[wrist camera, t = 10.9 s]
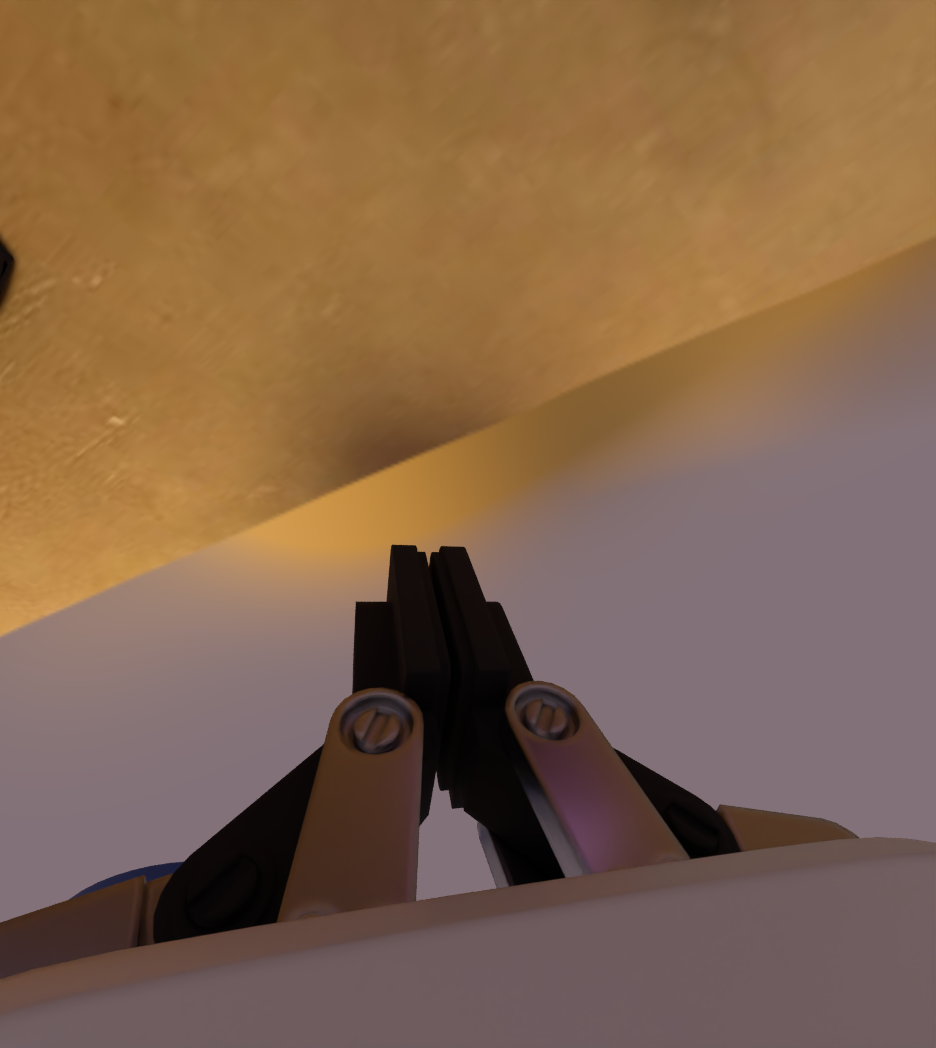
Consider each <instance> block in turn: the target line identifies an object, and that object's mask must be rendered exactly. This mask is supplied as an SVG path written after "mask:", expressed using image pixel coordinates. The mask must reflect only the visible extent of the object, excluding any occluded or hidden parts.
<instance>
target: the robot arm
mask: <svg viewBox="0 0 936 1048" xmlns="http://www.w3.org/2000/svg"><path fill="white" fill-rule="evenodd" d="M436 772H437V778H438V784H439V788H440V790H441V791H444V790H449V794H450V800H451V806H452V809H454V808H464V811H465V812H466V813H468V814H469V815H470V816H472V817H473V818H474V819H475V820H477V821H478V823H477V829H478V834H479V839H480V842H481V844H482V847H483V850H484V853H485V856H486V858H487V861H488V864H489V867H490V870H491V873H492V876H493V878H494V881H495V884H496V887H497V888H496V889H490V890H483V891H477V892H470V893H464V894H457V895H451V896H444V897H438V898H431V899H425V900H419V901H416V889H417V867H418V845H419V826H420V825H421V824H422V822H423V821H424V820H425V819H426V817H427V816H428V815H429V809H430V803H431V797H432V791H433V786H434V780H435V774H436ZM0 1048H936V843H933V842H927V841H920V840H912V839H902V838H882V837H874V838H859V837H858V836H856V835H855V834H854V833H853V832H851V831H849V830H848V829H846V828H844V827H842V826H841V825H839V824H837V823H835V822H831V821H828V820H825V819H821V818H814V817H807V816H800V815H793V814H785V813H778V812H770V811H764V810H756V809H749V808H742V807H735V806H727V805H719V807H718V809H717V810H716V811H715V810H714V809H713V808H712V807H711V806H710V805H708V804H707V803H705V802H704V801H702V800H701V799H700V798H698V797H697V796H695V795H694V794H692V793H690V792H688V791H687V790H685V789H683V788H681V787H680V786H678V785H676V784H674V783H673V782H671V781H669V780H668V779H666V778H664V777H663V776H661V775H659V774H657V773H656V772H654V771H652V770H650V769H649V768H647V767H645V766H644V765H642V764H640V763H639V762H637V761H635V760H633V759H632V758H630V757H628V756H627V755H625V754H623V753H621V752H620V751H618V750H616V749H614V748H613V747H612V746H611V744H610V743H609V742H608V740H607V739H606V738H605V736H604V735H603V733H602V732H601V730H600V729H599V727H598V726H597V725H596V723H595V722H594V720H593V719H592V717H591V716H590V715H589V713H588V712H587V710H586V709H585V707H584V706H583V705H582V704H581V702H580V701H579V700H578V699H577V698H576V697H575V696H574V695H573V694H571V693H570V692H568V691H567V690H565V689H564V688H562V687H559V686H557V685H555V684H552V683H547V682H543V681H534V680H533V678H532V676H531V673H530V671H529V668H528V666H527V664H526V661H525V659H524V657H523V654H522V652H521V650H520V648H519V645H518V643H517V640H516V638H515V636H514V634H513V631H512V629H511V626H510V624H509V622H508V619H507V617H506V615H505V612H504V610H503V608H502V606H501V604H500V603H498V602H486V600H485V598H484V595H483V593H482V590H481V587H480V585H479V582H478V579H477V577H476V574H475V572H474V569H473V567H472V564H471V561H470V559H469V556H468V553H467V551H466V549H465V547H448V546H441V547H440V550H439V552H432V553H431V556H430V564H429V566H428V562H427V557H426V553H425V552H417V547H416V546H414V545H392V546H391V555H390V566H389V578H388V591H387V602H356V610H355V634H354V659H353V691H352V695H351V696H349V697H347V698H345V699H344V700H343V702H341V703H340V705H339V706H338V707H337V708H336V709H335V711H334V713H333V716H332V717H331V720H330V723H329V728H328V731H327V735H326V739H325V742H324V744H323V745H322V746H321V747H320V748H319V749H317V750H316V751H315V752H314V753H313V754H311V755H310V756H309V757H308V758H307V759H305V760H304V761H303V762H302V763H301V764H299V765H298V766H297V767H296V768H295V769H293V770H292V771H291V772H290V773H289V774H287V775H286V776H285V777H284V778H283V779H281V780H280V781H279V782H278V783H277V784H275V785H274V786H273V787H272V788H271V789H269V790H268V791H267V792H266V793H265V794H263V795H262V796H261V797H260V798H259V799H257V800H256V801H255V802H254V803H253V804H251V805H250V806H249V807H248V808H247V809H245V810H244V811H243V812H242V813H241V814H239V815H238V816H237V817H236V818H235V819H233V820H232V821H231V822H230V823H229V824H227V825H226V826H225V827H224V828H223V829H221V830H220V831H219V832H218V833H217V834H215V835H214V836H213V837H212V838H211V839H209V840H208V841H207V842H206V843H205V844H204V845H202V846H201V847H200V848H199V849H197V850H196V851H195V852H194V853H193V854H192V855H190V856H189V857H188V858H187V860H185V861H184V862H183V863H182V865H181V866H180V867H179V868H178V869H177V870H176V871H175V872H174V873H172V874H169V875H166V876H163V877H160V878H157V879H154V880H151V881H149V882H147V881H146V877H145V875H142V876H139V877H136V878H133V879H130V880H127V881H124V882H121V883H118V884H115V885H112V886H109V887H106V888H103V889H100V890H97V891H94V892H91V893H88V894H85V895H82V896H79V897H76V898H73V899H70V900H67V901H64V902H61V903H58V904H55V905H52V906H49V907H46V908H43V909H40V910H37V911H34V912H31V913H28V914H25V915H22V916H19V917H16V918H13V919H10V920H7V921H4V922H1V923H0Z"/></svg>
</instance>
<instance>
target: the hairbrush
mask: <svg viewBox="0 0 936 1048" xmlns="http://www.w3.org/2000/svg"><path fill="white" fill-rule="evenodd" d="M12 260H13V257H12V256H11V255H10V254H9V253H8V252H7V251H6V250H5V249H4V247H3V246H2V245H1V244H0V293H1V291H2V288H3V285H4V282H5V280H6V277H7V274H8V271H9V269H10V266H11V263H12Z"/></svg>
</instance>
